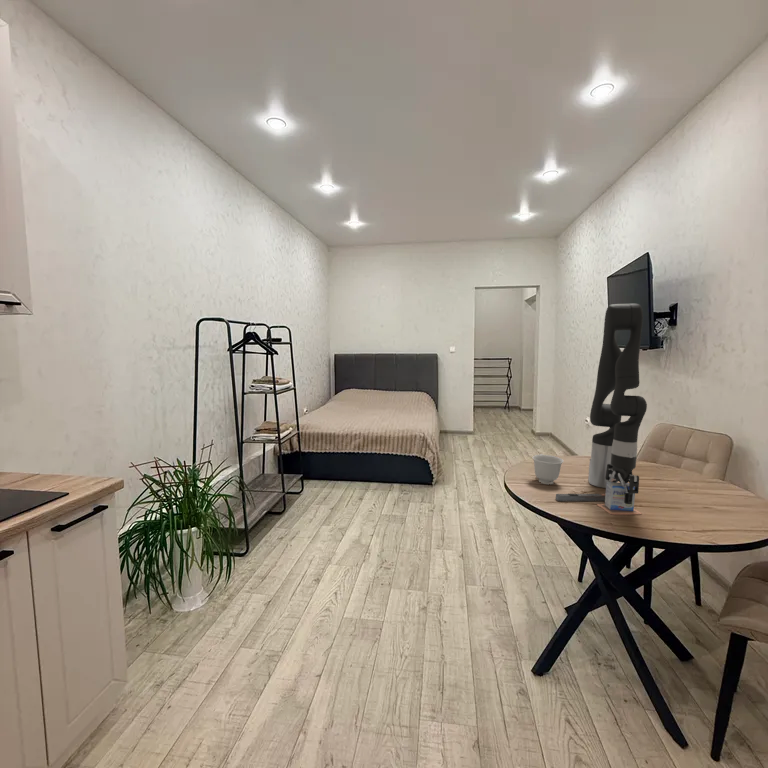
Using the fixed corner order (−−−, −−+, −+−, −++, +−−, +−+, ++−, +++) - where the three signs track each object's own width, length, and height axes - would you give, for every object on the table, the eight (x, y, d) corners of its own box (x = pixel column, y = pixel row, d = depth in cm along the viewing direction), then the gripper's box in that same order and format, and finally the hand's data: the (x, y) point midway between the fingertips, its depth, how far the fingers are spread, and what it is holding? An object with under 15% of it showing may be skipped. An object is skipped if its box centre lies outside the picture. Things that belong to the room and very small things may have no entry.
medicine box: (609, 510, 142) (611, 485, 141) (604, 505, 146) (606, 481, 145) (633, 511, 141) (636, 487, 140) (627, 506, 146) (629, 482, 145)
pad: (597, 505, 147) (597, 503, 147) (626, 504, 148) (626, 503, 148) (610, 514, 139) (610, 513, 139) (641, 514, 140) (641, 513, 140)
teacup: (552, 475, 179) (554, 453, 178) (566, 487, 164) (568, 463, 163) (524, 474, 179) (525, 452, 178) (536, 486, 164) (538, 462, 163)
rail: (555, 499, 152) (556, 487, 151) (618, 499, 153) (619, 487, 153) (558, 501, 150) (559, 489, 149) (621, 501, 151) (622, 489, 151)
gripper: (601, 447, 148) (597, 491, 150) (627, 459, 134) (622, 507, 136) (621, 447, 149) (617, 491, 150) (649, 459, 135) (644, 507, 136)
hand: (619, 498), depth 143 cm, fingers open, 8 cm apart
